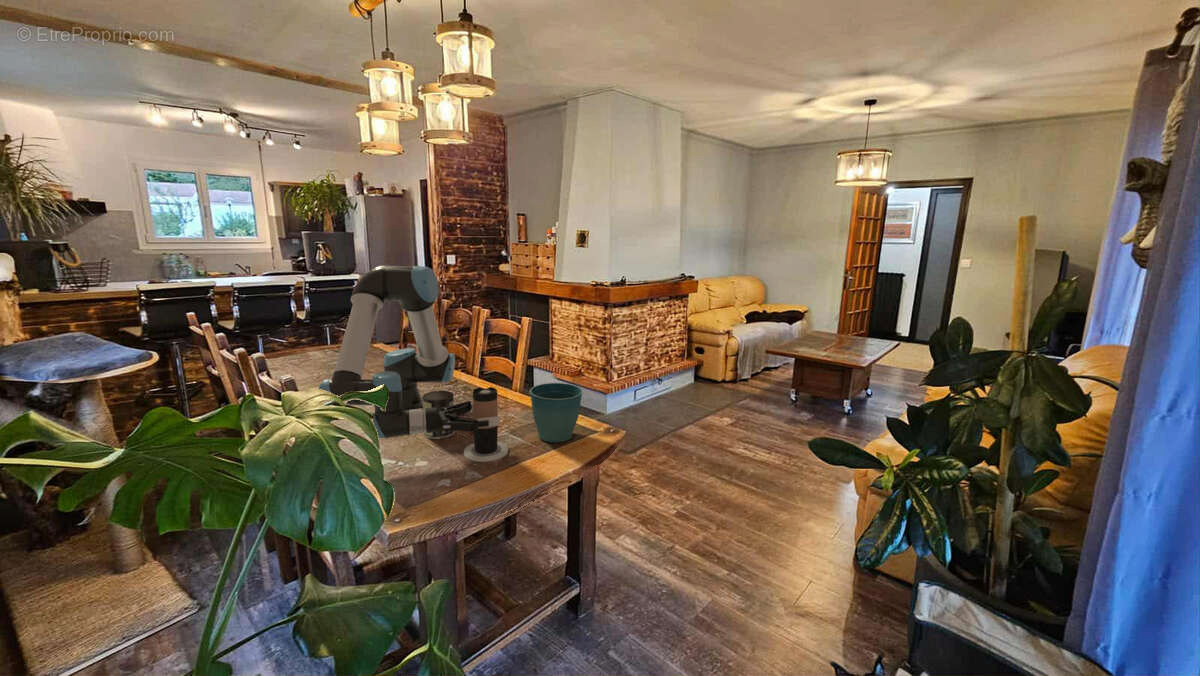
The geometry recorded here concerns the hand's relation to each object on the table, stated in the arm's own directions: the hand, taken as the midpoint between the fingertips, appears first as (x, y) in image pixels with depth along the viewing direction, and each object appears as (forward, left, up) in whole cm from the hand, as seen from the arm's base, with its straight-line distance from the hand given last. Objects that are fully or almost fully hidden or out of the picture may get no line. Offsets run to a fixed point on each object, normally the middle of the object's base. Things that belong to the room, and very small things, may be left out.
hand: (495, 413), depth 152 cm
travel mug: (0, -3, -12) cm, 13 cm away
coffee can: (-20, -16, -13) cm, 29 cm away
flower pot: (-5, +22, -13) cm, 26 cm away
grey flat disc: (0, -3, -13) cm, 13 cm away
